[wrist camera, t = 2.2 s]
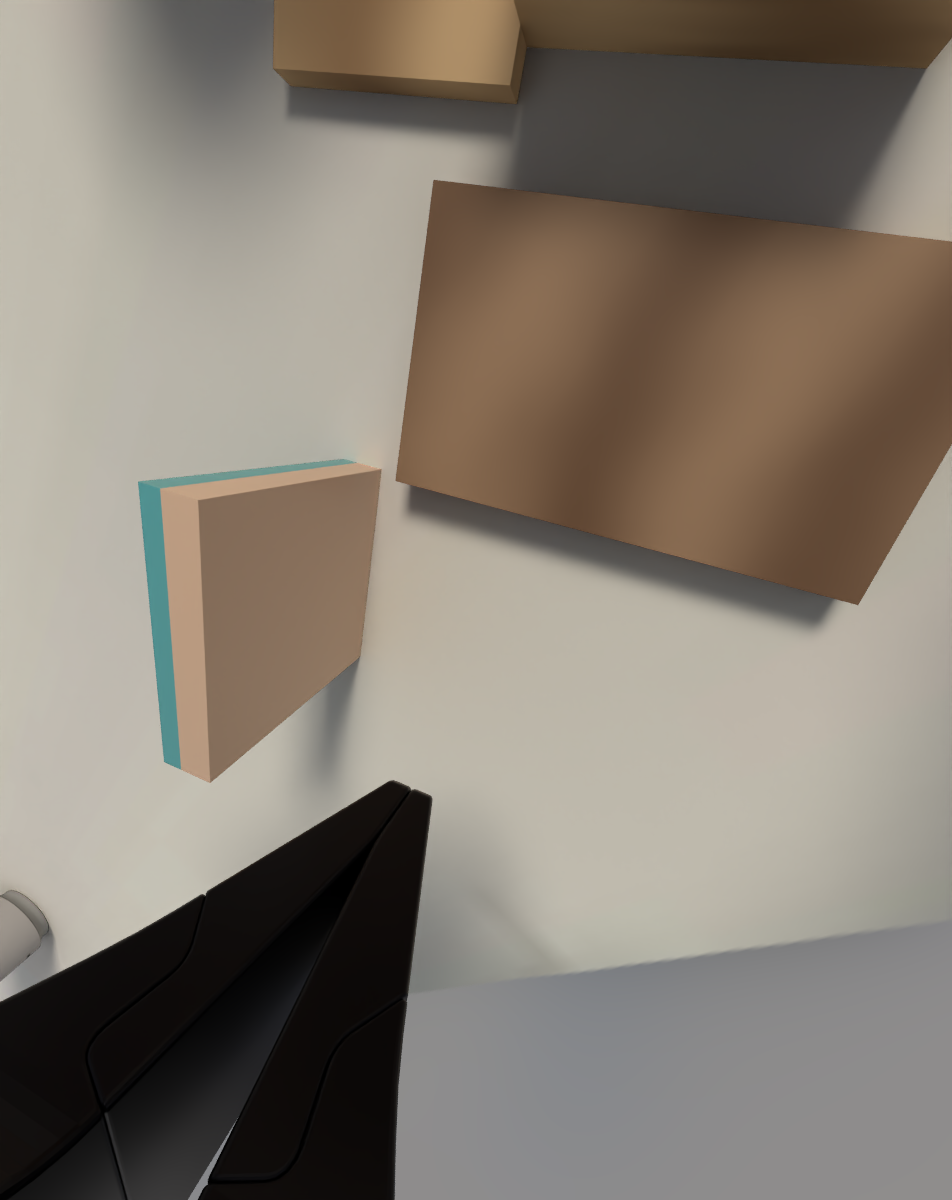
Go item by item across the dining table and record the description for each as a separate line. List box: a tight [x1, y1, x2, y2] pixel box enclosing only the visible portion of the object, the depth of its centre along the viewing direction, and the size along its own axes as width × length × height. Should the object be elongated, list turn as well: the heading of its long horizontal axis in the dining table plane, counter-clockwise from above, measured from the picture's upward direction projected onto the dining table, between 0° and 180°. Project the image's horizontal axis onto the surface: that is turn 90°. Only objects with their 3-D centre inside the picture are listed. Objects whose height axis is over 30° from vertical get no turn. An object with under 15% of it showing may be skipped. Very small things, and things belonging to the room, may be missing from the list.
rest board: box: [396, 180, 952, 605], centre depth 13 cm, size 14×8×1 cm, turn 78°
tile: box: [138, 459, 381, 783], centre depth 15 cm, size 2×8×8 cm, turn 168°
